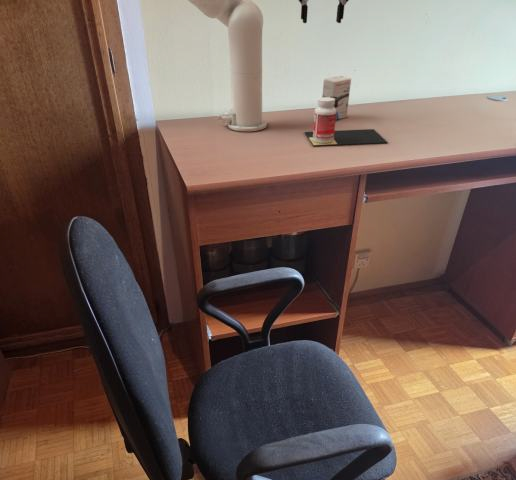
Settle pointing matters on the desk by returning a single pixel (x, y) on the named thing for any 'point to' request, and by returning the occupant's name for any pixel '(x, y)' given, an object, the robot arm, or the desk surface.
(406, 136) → the desk surface
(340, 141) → the desk mat
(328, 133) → the pill bottle
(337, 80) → the ink box
